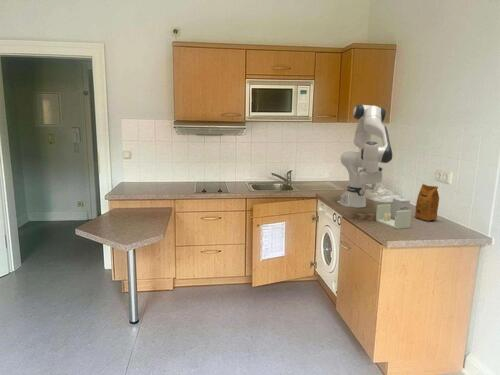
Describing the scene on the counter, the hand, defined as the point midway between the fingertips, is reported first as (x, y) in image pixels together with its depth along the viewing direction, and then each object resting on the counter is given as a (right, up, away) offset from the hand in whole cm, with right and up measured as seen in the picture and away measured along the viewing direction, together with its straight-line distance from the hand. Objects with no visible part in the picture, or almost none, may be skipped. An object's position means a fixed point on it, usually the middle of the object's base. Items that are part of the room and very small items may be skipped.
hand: (368, 190), depth 220 cm
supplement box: (+23, -18, +7) cm, 30 cm away
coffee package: (+40, -18, +9) cm, 44 cm away
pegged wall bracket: (+13, -20, -6) cm, 24 cm away
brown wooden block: (0, -18, +4) cm, 19 cm away
